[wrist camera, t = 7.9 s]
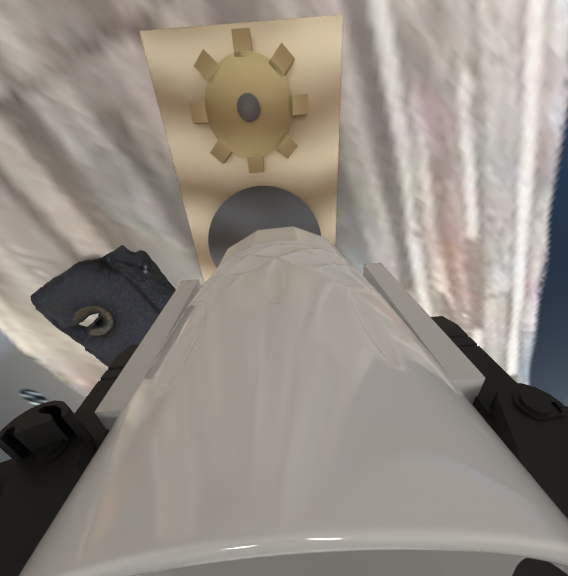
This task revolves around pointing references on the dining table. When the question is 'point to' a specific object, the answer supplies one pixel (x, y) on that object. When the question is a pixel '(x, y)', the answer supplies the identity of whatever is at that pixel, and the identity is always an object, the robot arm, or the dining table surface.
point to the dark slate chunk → (106, 301)
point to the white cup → (298, 444)
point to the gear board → (202, 139)
